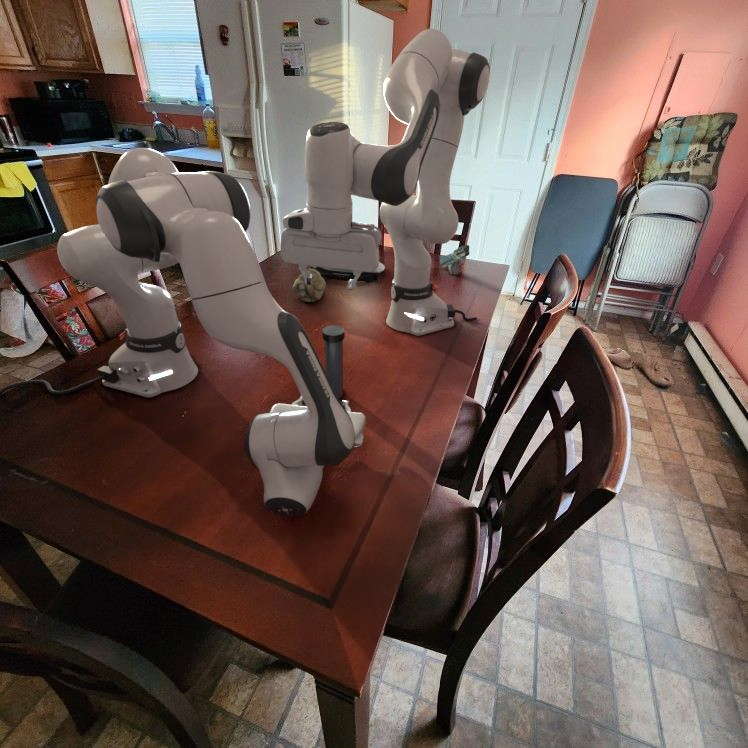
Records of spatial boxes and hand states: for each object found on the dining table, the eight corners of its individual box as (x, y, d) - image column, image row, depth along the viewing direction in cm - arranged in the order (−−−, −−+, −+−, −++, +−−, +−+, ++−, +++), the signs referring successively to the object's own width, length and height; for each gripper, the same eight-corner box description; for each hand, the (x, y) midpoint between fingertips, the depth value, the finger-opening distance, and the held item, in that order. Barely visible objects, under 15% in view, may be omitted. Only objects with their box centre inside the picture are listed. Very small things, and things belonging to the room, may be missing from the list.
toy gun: (467, 268, 162) (462, 243, 161) (442, 279, 180) (438, 256, 179) (475, 267, 163) (470, 242, 162) (449, 278, 181) (445, 255, 180)
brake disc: (371, 289, 156) (371, 277, 153) (298, 278, 162) (298, 266, 160) (392, 263, 182) (392, 252, 179) (328, 254, 188) (328, 243, 185)
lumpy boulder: (335, 296, 154) (323, 298, 140) (308, 303, 157) (293, 307, 143) (327, 266, 152) (313, 265, 138) (299, 274, 155) (283, 274, 141)
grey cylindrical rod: (326, 399, 102) (324, 337, 91) (325, 389, 105) (323, 328, 95) (343, 398, 102) (343, 336, 92) (342, 388, 106) (341, 327, 95)
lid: (323, 343, 92) (322, 336, 91) (322, 332, 96) (321, 325, 95) (345, 342, 93) (345, 335, 91) (343, 331, 97) (343, 324, 96)
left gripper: (361, 438, 79) (371, 394, 90) (258, 425, 81) (280, 384, 92) (360, 461, 83) (370, 416, 94) (262, 448, 84) (283, 406, 95)
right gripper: (384, 220, 82) (380, 286, 90) (286, 211, 84) (290, 276, 92) (379, 229, 77) (375, 298, 84) (274, 218, 79) (280, 286, 87)
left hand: (325, 400), depth 93 cm, fingers open, 8 cm apart
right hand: (330, 286), depth 88 cm, fingers open, 8 cm apart
